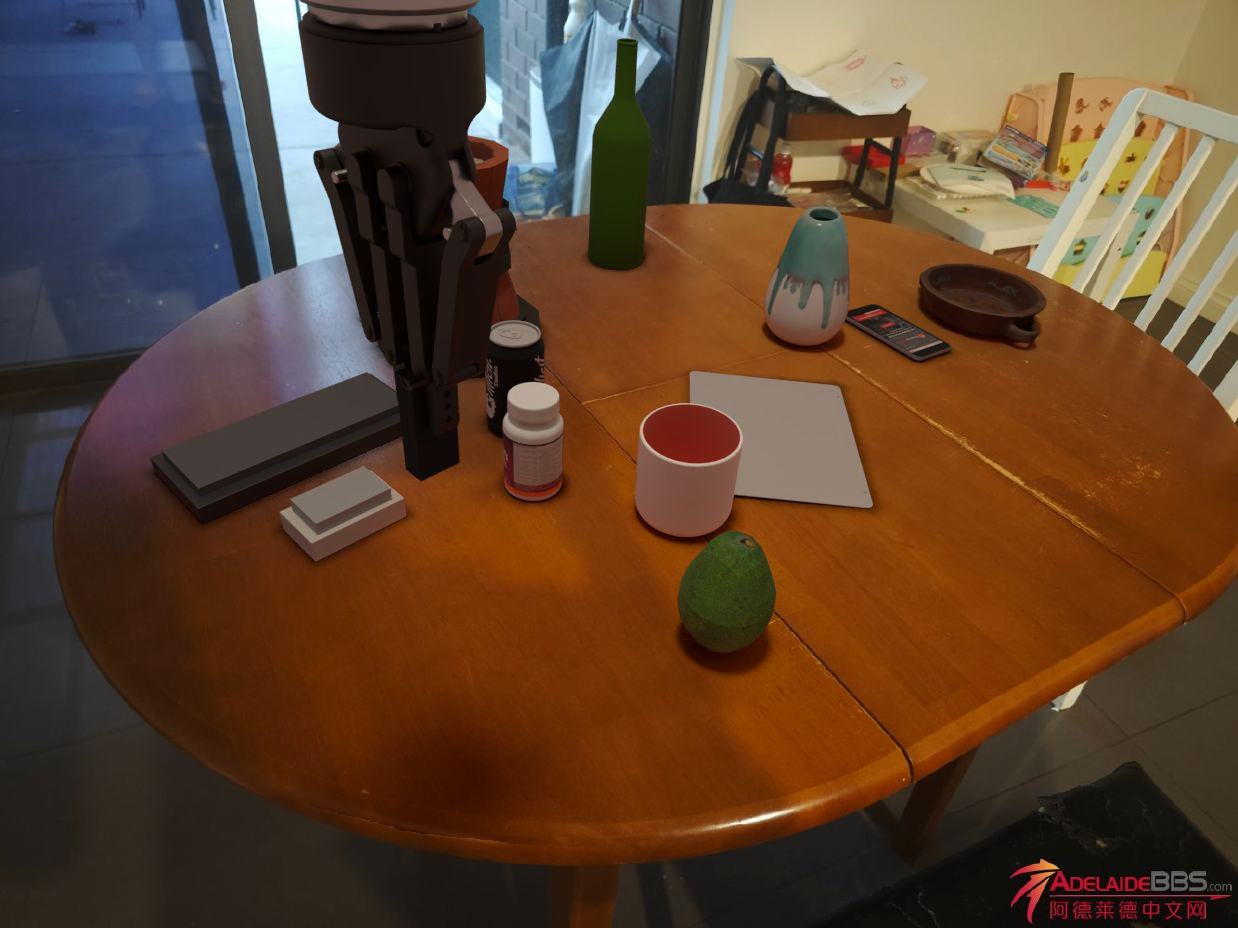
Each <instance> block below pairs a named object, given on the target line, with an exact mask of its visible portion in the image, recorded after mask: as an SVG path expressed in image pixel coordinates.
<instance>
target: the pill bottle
mask: <svg viewBox="0 0 1238 928" xmlns="http://www.w3.org/2000/svg"><path fill="white" fill-rule="evenodd" d="M507 410H508V412H507V414H506V415H505V417H504V419H503V435H502V442H503V443H502V444H503V449H502V450H503V483H504V487H505V489H506V491H507V492H508V493H509V494H510V495H512V496H513V497H514V498H517V499H520V500H523V501H528V502H529V501H530V502H537V501H538V502H539V501H544V500H547V499H550V498H551V497H553V496H554V495H556V494H557V493H558V492H559V491H560V490H561V487H562V484H563V461H564V457H563V453H564V427H565V426H564V425H565V423H564V419H563V416H562V415H561V413H560V393H559V391H558V390H557V389H556V388H555V387H554V386H552V385H550V384H548V383H545V382H544V383H538V382H528V383H522V384H519V385H516V386H514V387H513V388H512V389H511V390H510V391H509V392H508V396H507Z"/></svg>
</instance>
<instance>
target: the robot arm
mask: <svg viewBox="0 0 1238 928" xmlns="http://www.w3.org/2000/svg"><path fill="white" fill-rule="evenodd" d="M298 1H299V2H300V3H303V4H305V5H307V6H309V10H308V11H306V12H305V13H304V14H303V15H302V19H301V20H300V21H299V22H298V24H297V27H298V34H299V41H300V48H301V53H302V61H303V68H304V74H305V81H306V87H307V93H308V94H307V95H308V99H309V101H310V104H311V106H312V107H313V108H314V110H315V111H316V112H317V113H319V114H320V115H322V117H325V118H326V119H328V120H331V121H333V122H336V123H337V138H338V143H336V145H335V146H332V147H328V148H322V149H316V150H314V152H313V153H312V159H313V164H314V167H315V170H316V172H317V174H318V177H319V179H320V181H321V184H322V186H323V188H324V191H325V193H326V196H327V199H328V201H329V204H330V208H331V211H332V216H333V219H334V223H335V227H336V231H337V235H338V238H339V242H340V246H341V251H342V254H343V258H344V262H345V265H346V270H347V273H348V277H349V281H350V286H351V288H352V292H353V297H354V300H355V304H356V308H357V311H358V315H359V320H360V323H361V327H362V331H363V334H364V336H365V339H367V340H368V342H369V343H372V344H375V343H378V342H377V341H380V342H381V343H382V345H383V352H382V353H383V356H384V358H385V360H386V362H387V363H388V365H389V366H391V367H392V369H393V377H394V378H393V379H394V385H395V386H394V387H395V391H396V396H397V402H398V405H399V414H400V423H401V431H402V436H401V439H402V448H403V456H404V465H405V471H406V472H408V473H409V474H411V475H412V476H413V477H414V478H416V479H417V480H418V481H420V482H423V481H426V480H428V479H430V478H432V477H433V476H437V475H438V474H440V473H442V472H444V471H446V470H448V469H450V468H452V467H454V466H456V465H459V464H460V463H461V459H460V444H459V443H460V442H459V429H458V427H459V424H460V420H461V419H460V418H461V415H460V406H459V405H460V403H459V389H458V388H459V387H458V384H461V383H462V382H465V381H467V380H469V379H473V378H472V377H474V376H477V375H479V374H481V373H483V372H484V371H485V366H486V360H487V353H488V346H489V340H490V333H491V326H492V320H493V313H494V307H495V300H496V293H497V287H498V280H499V273H500V267H501V260H502V255H503V253H504V251H505V250H506V248H507V246H508V244H510V243H511V241H512V238H513V237H514V235H515V233H516V231H517V221H516V218H515V216H514V214H513V213H514V212H512V211H511V210H510V208H509V209H507V208H501V209H498V210H494V211H492V210H491V209H490V208H489V206H488V205H487V203H486V202H485V200H484V199H483V197H482V196H481V195H480V193H479V192H478V190H477V189H476V187H475V183H476V178H477V169H476V164H475V161H474V158H473V155H472V152H471V148H470V144H469V139H468V135H469V129H470V127H471V125H472V122H473V121H474V119H475V118H476V117H477V116H478V115H479V114H480V113H481V112H482V111H483V109H484V108H485V106H486V103H487V75H486V71H487V70H486V49H485V48H486V47H485V46H486V45H485V27H484V26H483V25H482V23H480V20H479V19H478V18H477V16H475V15H473V14H471V13H469V12H468V10H470V9H472V8H474V7H476V6H477V5H478V4H479V3H480V2H481V0H298Z"/></svg>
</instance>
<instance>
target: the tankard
mask: <svg viewBox="0 0 1238 928" xmlns="http://www.w3.org/2000/svg"><path fill="white" fill-rule="evenodd" d="M468 139H469V144H470V148H471V152H472V155H473V158H474V161H475V164H476V169H477V178H476V183H475V187H476V189H477V190H478V192H479V193H480V195H481V196H482V197H483V199H484V200H485V202H486V203H487V205H488V206H489V208H490V209H491V210H492V211H494V210H498V209H501V208H507V209H509V210H510V201H509V200H508V199H506V198H504V192H505V185H506V179H507V172H508V165H509V159H510V149H509V148H508V147H506V146H504V145H503V144H501V143H499V142H498V141H496V140H494V139H490V138H489V139H488V138H484V137H483V138H482V137H479V136H473V135H469V134H468ZM509 244H510V243H509ZM509 244H508V246H507V248H506V250H505V251H504V253H503V255H502V260H501V267H500V273H499V280H498V287H497V293H496V300H495V307H494V313H493V320H492V326H493V325H495V324H497V323H499V322H503V321H510V320H517V321H524V322H528V323H531V324H533V325H535V326H537V327H538V328H539V330H540V331H541V320H540V319H541V317H540V310H539V309H538V308H536V307H535V306H533V305H532V304H531V303H530V302H528V301H527V300H525V298H524V297H522V296H521V295H519V294H517V291H516V288H515V286H514V283H513V280H512V278H511V275H510V273H509V270H511V269H512V254H511V248H510V245H509ZM492 326H491V327H492ZM376 343H377V348H378V349H379V350H380V351H381V352H382V353H383V345H382V343H381V342H380V341H377V342H376ZM484 377H485V371H484V372H483V373H481V374H479V375H477V376H474V377H472V378H471V379H475V378H476V379H478V378H479V379H480V378H484Z"/></svg>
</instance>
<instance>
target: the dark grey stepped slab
mask: <svg viewBox="0 0 1238 928" xmlns="http://www.w3.org/2000/svg"><path fill="white" fill-rule="evenodd" d="M396 392H397V391H396V389H393V388H392V387H391V386H390V385H388V384H387V383H385V382H383V381H382V380H381V379H379V378H378V377H376V376H375V375H374V374H372V373H369V372H367V371H366V372H363V373H361V374H357V375H355V376H352V377H350V378H347V379H345V380H342V381H340V382H337V383H335V384H332V385H329V386H326V387H324V388H320V389H318V390H315V391H313V392H310V393H307V394H305V395H302V396H300V397H297V398H295V399H292V400H289V401H287V402H284V403H281V404H279V405H276V406H274V407H270V408H268V409H266V410H262V411H260V412H258V413H255V414H253V415H249V416H247V417H245V418H242V419H239V420H237V421H234V422H232V423H229V424H226V425H224V426H221V427H218V428H216V429H213V430H210V431H208V432H205V433H203V434H202V433H201V434H199V435H197V436H194V437H192V438H190V439H187V440H184V441H181V442H178V443H176V444H174V445H171V446H168V447H165V448H163V449H161V453H158V454H155V455H153V456H150V457H149V459H150V462H151V465H152V468H153V471H154V473H155V474H156V476H157V477H158V478H159V479H160V480H161V481H162V482H163V483H164V484H165V485H166V486H167V488H169V490H170V491H172V493H173V494H174V495H175V496H176V497H177V498H178V499H179V500H180V502H182V503H183V504H184V506H185V507H186V508H187V509H188V510H189V511H190V512H191V514H193V515H194V517H195V518H196V519H197V520H198V522H200V523H201V524H202V525H205V524H207V523H209V522H211V521H213V520H215V519H218V518H220V517H222V516H225V515H227V514H229V513H231V512H234V511H236V510H238V509H240V508H242V507H245V506H248V505H249V504H252V503H254V502H256V501H259V500H261V499H263V498H265V497H267V496H269V495H272V494H274V493H276V492H279V491H281V490H283V489H285V488H288V487H290V486H292V485H295V484H297V483H299V482H301V481H303V480H305V479H308V478H311V477H313V476H314V475H317V474H319V473H321V472H324V471H327V470H328V469H331V468H332V467H335V466H337V465H340V464H342V463H344V462H347V461H349V460H351V459H353V458H355V457H358V456H360V455H362V454H364V453H367V452H369V451H372V450H374V449H376V448H378V447H381V446H383V445H385V444H387V443H389V442H391V441H394V440H396V439H398V438H401V437H402V431H401V423H400V414H399V405H398V402H397V396H396Z"/></svg>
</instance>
